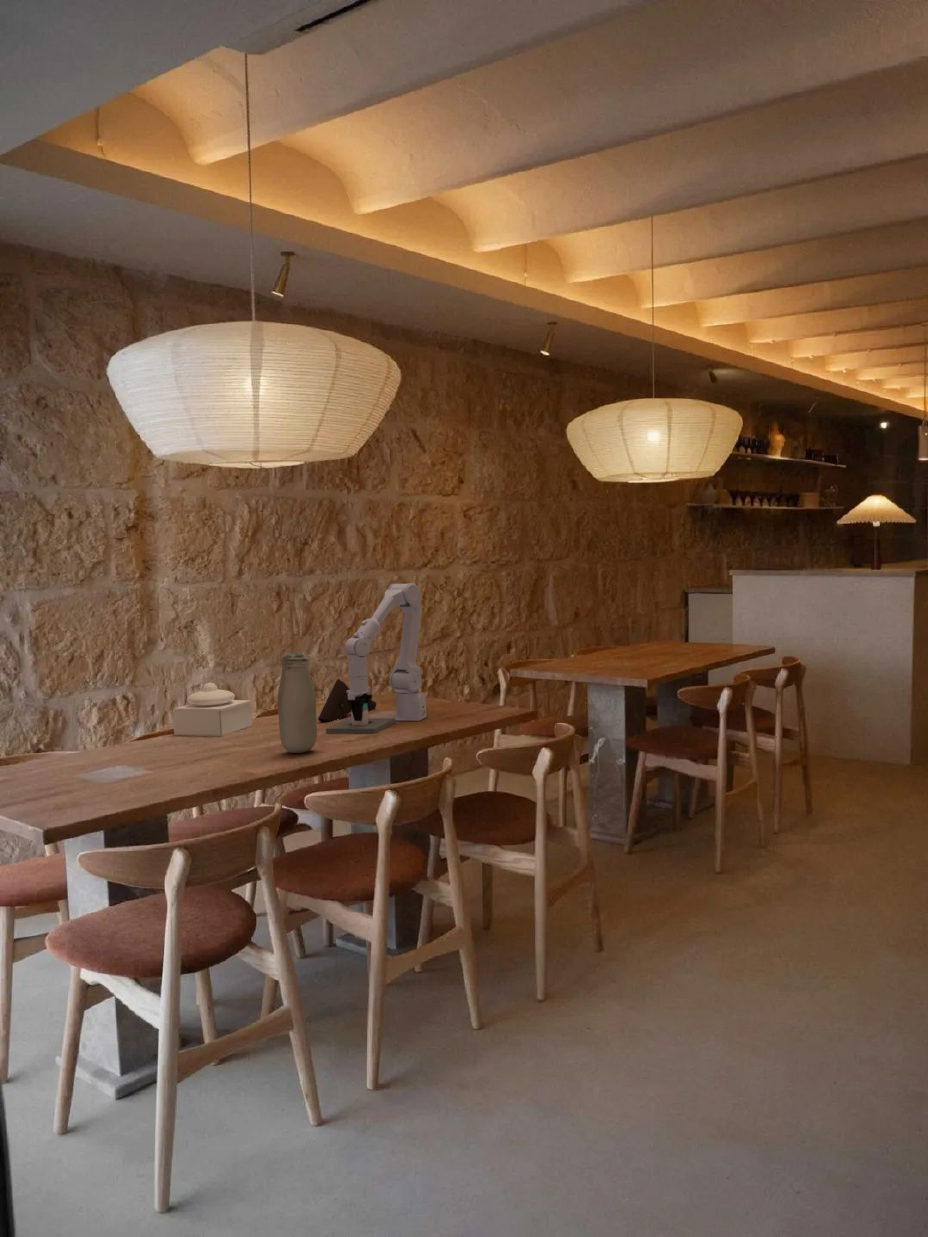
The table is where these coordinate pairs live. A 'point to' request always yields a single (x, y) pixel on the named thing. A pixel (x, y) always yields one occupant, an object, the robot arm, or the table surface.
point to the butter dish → (212, 713)
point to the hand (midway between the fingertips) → (360, 719)
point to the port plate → (361, 726)
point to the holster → (338, 703)
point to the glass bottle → (297, 704)
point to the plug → (364, 716)
